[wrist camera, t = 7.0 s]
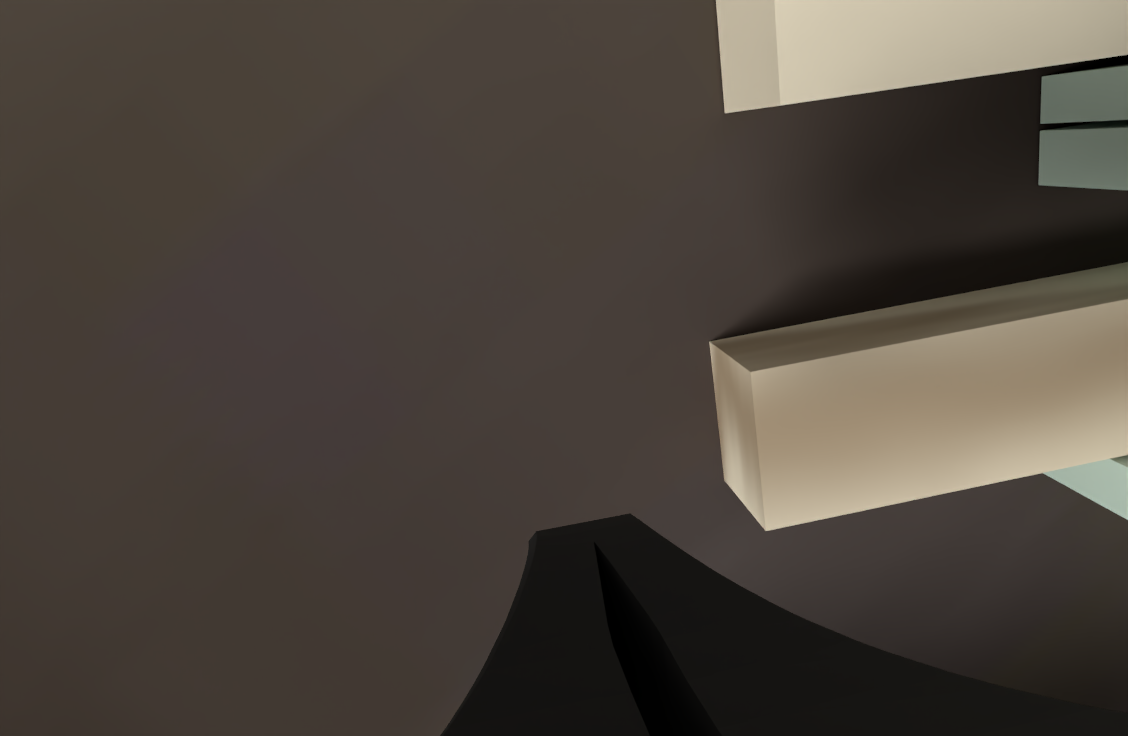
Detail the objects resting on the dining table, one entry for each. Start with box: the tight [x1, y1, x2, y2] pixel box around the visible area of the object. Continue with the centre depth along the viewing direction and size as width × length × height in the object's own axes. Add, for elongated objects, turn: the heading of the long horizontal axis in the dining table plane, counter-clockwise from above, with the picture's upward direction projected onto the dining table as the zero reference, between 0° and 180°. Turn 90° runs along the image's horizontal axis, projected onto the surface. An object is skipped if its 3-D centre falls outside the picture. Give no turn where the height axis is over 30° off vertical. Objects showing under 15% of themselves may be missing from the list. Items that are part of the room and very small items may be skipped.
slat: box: [709, 262, 1128, 531], centre depth 18 cm, size 4×12×3 cm, turn 99°
